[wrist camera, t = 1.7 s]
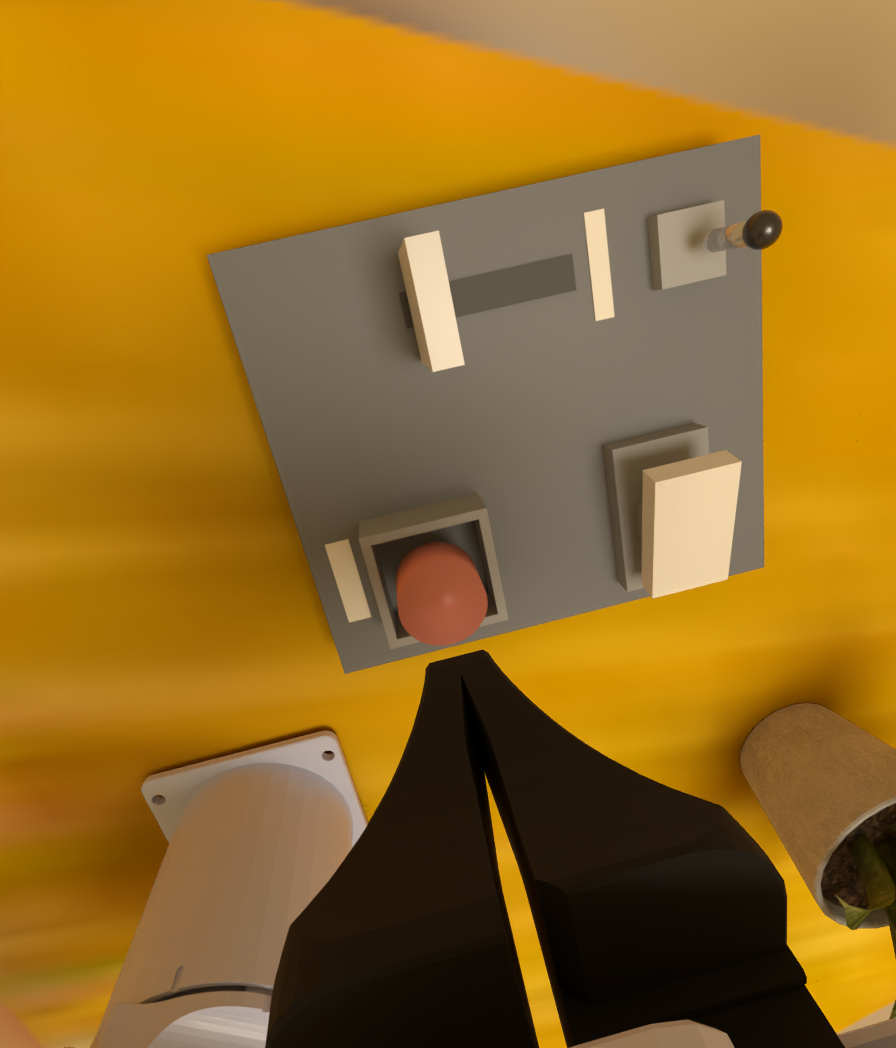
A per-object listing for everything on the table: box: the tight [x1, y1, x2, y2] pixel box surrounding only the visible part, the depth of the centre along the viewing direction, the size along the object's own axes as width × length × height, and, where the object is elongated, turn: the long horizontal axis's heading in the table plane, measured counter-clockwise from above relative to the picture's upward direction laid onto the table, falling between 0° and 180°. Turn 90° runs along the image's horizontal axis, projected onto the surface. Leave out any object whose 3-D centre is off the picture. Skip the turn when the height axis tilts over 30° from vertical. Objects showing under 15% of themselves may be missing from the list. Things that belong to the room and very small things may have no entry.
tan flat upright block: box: [398, 231, 465, 372], centre depth 15 cm, size 3×1×3 cm, turn 12°
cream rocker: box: [641, 450, 742, 598], centre depth 18 cm, size 4×3×1 cm, turn 12°
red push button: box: [396, 542, 488, 646], centre depth 17 cm, size 3×3×2 cm
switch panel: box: [207, 135, 764, 674], centre depth 19 cm, size 14×16×4 cm
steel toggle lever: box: [703, 210, 782, 253], centre depth 15 cm, size 1×1×2 cm
